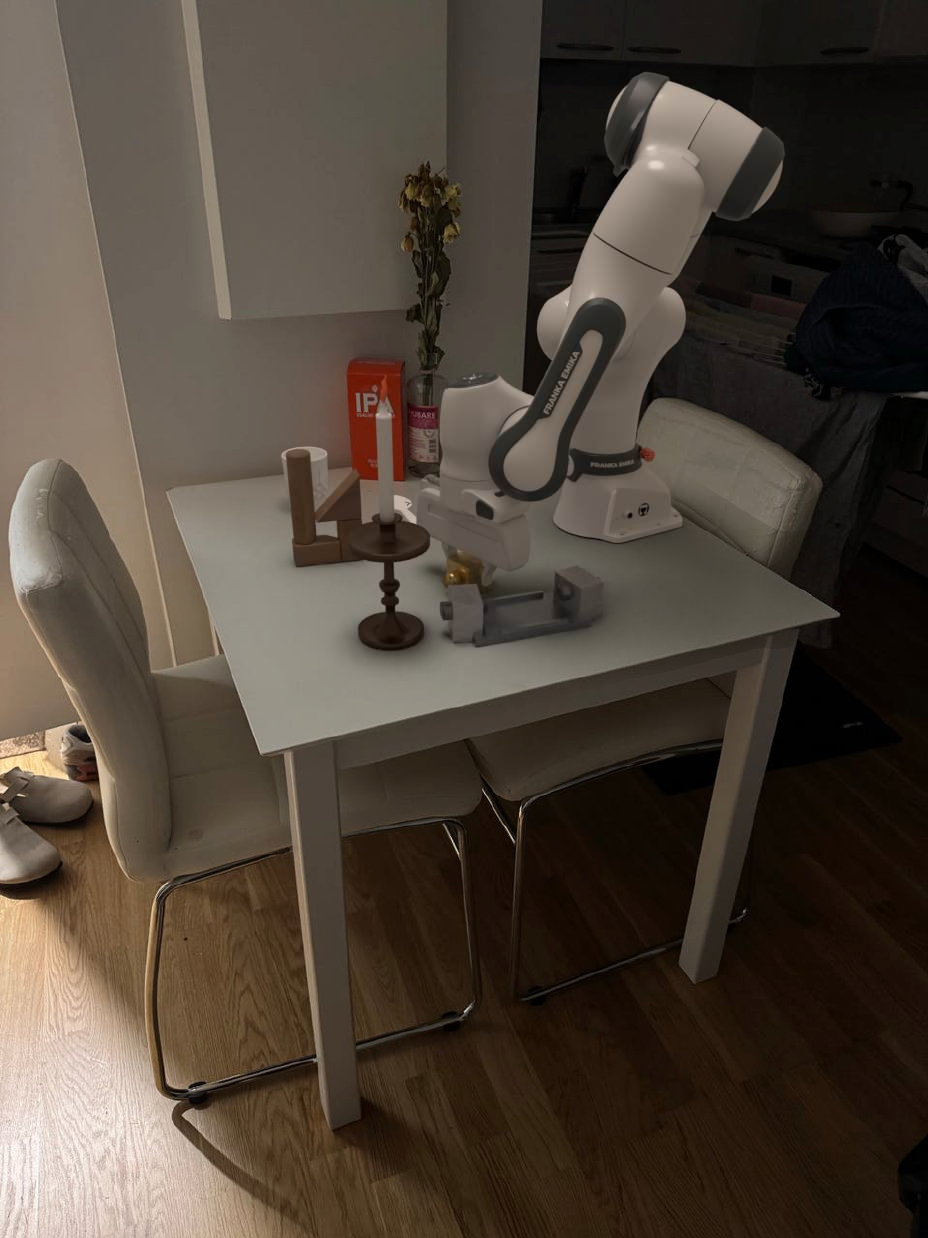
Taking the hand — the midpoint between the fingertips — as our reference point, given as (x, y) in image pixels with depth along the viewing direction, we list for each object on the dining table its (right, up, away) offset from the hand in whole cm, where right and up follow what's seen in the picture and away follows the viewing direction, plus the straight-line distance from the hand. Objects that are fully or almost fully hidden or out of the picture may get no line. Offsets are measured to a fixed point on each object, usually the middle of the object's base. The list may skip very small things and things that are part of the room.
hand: (469, 576), depth 132 cm
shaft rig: (+7, -7, -8) cm, 13 cm away
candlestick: (-11, -8, -11) cm, 18 cm away
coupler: (0, -2, +1) cm, 2 cm away
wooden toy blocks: (-22, +3, +9) cm, 24 cm away
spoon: (-11, +12, +25) cm, 30 cm away
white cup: (-29, +14, +27) cm, 42 cm away
